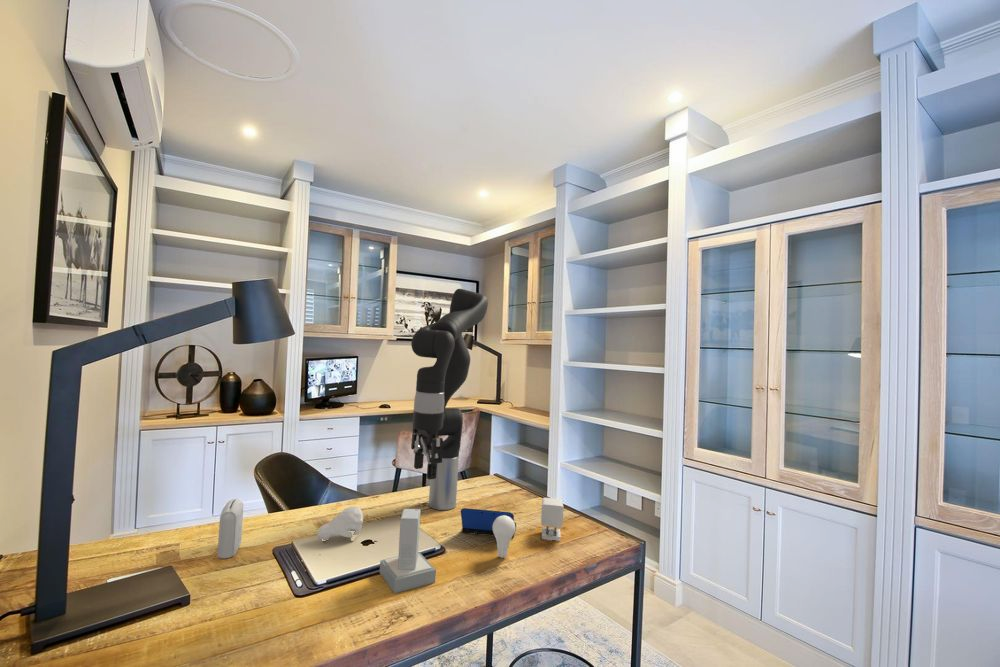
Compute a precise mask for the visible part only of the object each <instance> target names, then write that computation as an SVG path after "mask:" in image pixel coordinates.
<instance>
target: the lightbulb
mask: <svg viewBox="0 0 1000 667" xmlns="http://www.w3.org/2000/svg"><path fill="white" fill-rule="evenodd" d="M514 522H515V520H514V521H513V520H512V519H511V518H510V517H508V516H505V515H503V516H499V517H498V518H496V519H495V521H494V523H493V527H492V529H493V533H494V535H495V536H494V537H495V540H496V548H497V556H498V557H500V558H501V559H504V558H506V557H507V556H508V551H509V550H508V549H509V547H510V542H511V540H512V539H513V538H512V536H513V535H514V536H515V534H516V530H515V523H516V522H515V523H514ZM514 533H515V534H514Z"/></svg>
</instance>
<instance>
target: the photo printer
mask: <svg viewBox="0 0 1000 667" xmlns="http://www.w3.org/2000/svg"><path fill="white" fill-rule="evenodd" d="M243 523H244V502H243V501H242V500H241V499H240V498H235V499H234V498H232V499H230V500H229V501H228V502H226V504H225V505H224V507H223V508H222V510H221V513H220V517H219V529H218V538H217V539H218V541H217V542H218V543H217V557H218V558H219V559H229V558H232V557H234V556H235V555H236V553H237V552H238V549H239V548H240V546H241V543H242V538H243V536H242V535H243Z"/></svg>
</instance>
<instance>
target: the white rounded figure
mask: <svg viewBox="0 0 1000 667" xmlns="http://www.w3.org/2000/svg"><path fill="white" fill-rule="evenodd" d="M363 515H364V513H363V511H362V508H361V507H360V506H349V507H348V506H347V507H346V508H344V509H343V510H341V511H340V512H339V513H338V514H337V515H336V516H335V517H333V519H332V520H331V521H329V522H328V523H325V524H323V525H321V526H320V527H319V528H317V529H318V530H317V537H318V539H320V540H321V539H323V540H327V539H328V538H329V539H330V538H331V537H345V538H351V537H352V533H351V532H348V531H355V532H354V534H353V535H359V536H360V534H361V533H362V532H361V531H362V525H363V523H364V516H363ZM329 539H328V541H327V542H329V541H330V540H329Z"/></svg>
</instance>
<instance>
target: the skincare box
mask: <svg viewBox="0 0 1000 667" xmlns="http://www.w3.org/2000/svg"><path fill="white" fill-rule="evenodd" d="M420 526H421V509H420V508H419V509H418V508H404V509H403V510H402V512H401V516H400V525H399V538H398V539H399V541H398V555H397V556H398V569H410V570H415V569H416V564H417V559H418V552H419V547H420V546H419V545H420V544H419V543H420V542H419V541H420Z"/></svg>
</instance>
